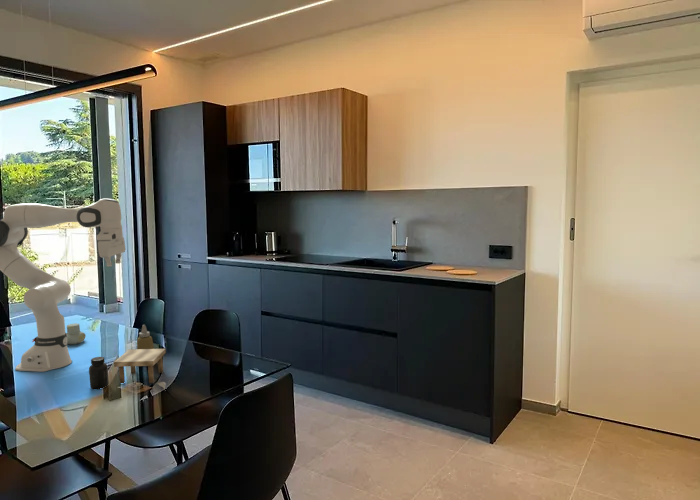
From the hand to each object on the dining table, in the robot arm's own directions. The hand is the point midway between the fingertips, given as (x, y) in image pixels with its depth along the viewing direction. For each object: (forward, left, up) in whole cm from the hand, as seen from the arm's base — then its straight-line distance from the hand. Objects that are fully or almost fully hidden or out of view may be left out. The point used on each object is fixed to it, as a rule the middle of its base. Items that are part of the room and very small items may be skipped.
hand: (113, 264), depth 226 cm
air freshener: (-38, +34, -47) cm, 69 cm away
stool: (+16, -18, -47) cm, 53 cm away
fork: (+31, -33, -47) cm, 65 cm away
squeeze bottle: (+11, +1, -47) cm, 48 cm away
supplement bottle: (+2, -27, -47) cm, 54 cm away
